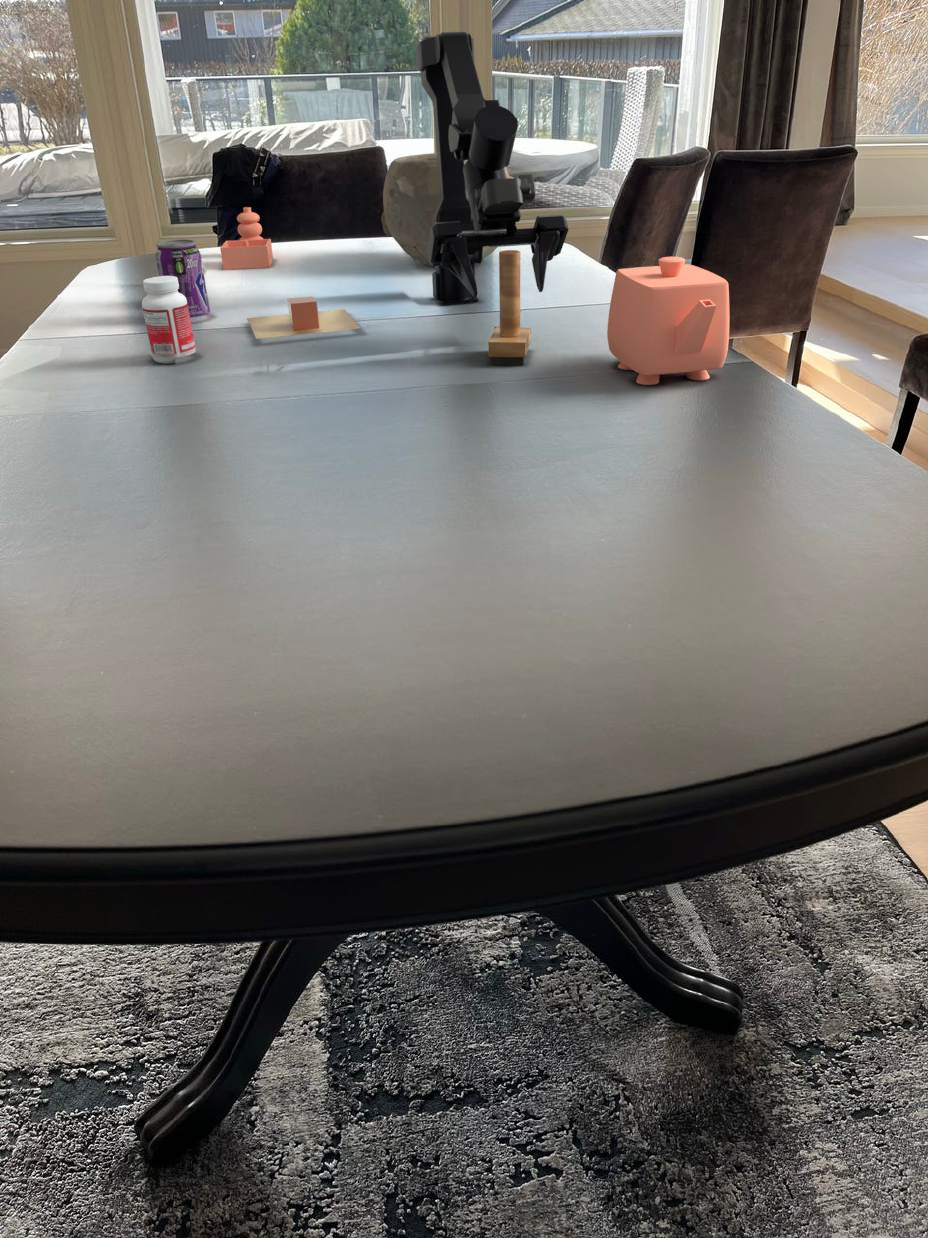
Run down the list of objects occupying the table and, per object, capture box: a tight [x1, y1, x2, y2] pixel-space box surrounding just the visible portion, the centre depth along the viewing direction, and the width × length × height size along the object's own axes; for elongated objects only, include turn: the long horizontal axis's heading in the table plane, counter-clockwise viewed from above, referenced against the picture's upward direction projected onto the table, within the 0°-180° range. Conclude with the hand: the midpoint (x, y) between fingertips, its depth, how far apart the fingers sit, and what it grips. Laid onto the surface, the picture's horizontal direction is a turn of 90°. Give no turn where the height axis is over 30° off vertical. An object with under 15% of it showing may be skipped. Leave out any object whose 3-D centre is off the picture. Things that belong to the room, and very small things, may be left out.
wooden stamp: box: [487, 249, 532, 366], centre depth 128 cm, size 8×5×14 cm, turn 171°
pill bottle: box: [141, 275, 197, 365], centre depth 133 cm, size 6×6×11 cm
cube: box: [286, 295, 319, 331], centre depth 145 cm, size 4×4×4 cm
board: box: [247, 308, 361, 340], centre depth 149 cm, size 16×14×1 cm
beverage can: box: [155, 238, 211, 319], centre depth 155 cm, size 7×7×12 cm
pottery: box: [220, 206, 274, 271], centre depth 200 cm, size 18×10×10 cm, turn 5°
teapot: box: [606, 256, 730, 386], centre depth 120 cm, size 22×13×14 cm, turn 12°
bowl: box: [380, 152, 514, 268], centre depth 188 cm, size 27×29×20 cm
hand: (508, 292), depth 128 cm, fingers open, 9 cm apart
